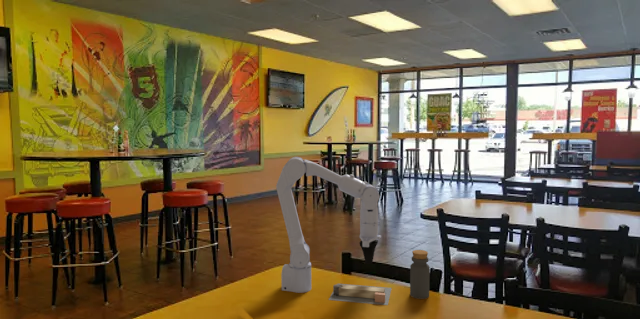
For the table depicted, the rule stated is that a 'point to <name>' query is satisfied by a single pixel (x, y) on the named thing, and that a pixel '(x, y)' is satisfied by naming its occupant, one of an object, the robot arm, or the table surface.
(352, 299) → the stool seat
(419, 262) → the bottle
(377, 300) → the leg stop
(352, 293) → the stool leg
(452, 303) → the table surface
